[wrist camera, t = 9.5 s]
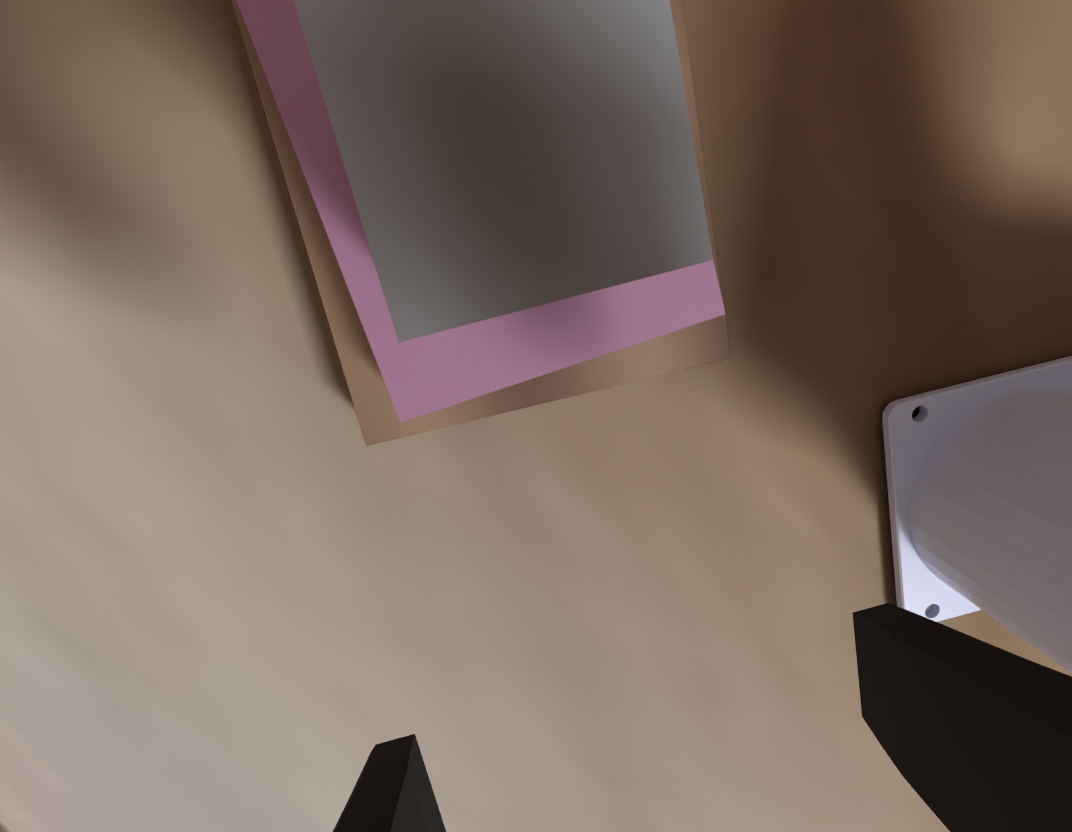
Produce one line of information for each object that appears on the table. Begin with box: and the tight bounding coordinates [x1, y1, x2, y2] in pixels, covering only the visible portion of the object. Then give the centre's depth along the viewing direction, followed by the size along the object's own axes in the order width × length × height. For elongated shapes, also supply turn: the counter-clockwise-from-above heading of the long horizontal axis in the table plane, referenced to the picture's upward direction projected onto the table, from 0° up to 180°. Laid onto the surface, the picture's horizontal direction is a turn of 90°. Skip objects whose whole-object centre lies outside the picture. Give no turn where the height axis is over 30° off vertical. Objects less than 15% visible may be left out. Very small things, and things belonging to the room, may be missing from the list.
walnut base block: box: [231, 0, 731, 446], centre depth 18 cm, size 10×12×2 cm
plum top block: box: [237, 0, 725, 423], centre depth 16 cm, size 8×10×2 cm
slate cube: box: [293, 0, 713, 342], centre depth 12 cm, size 5×5×5 cm
